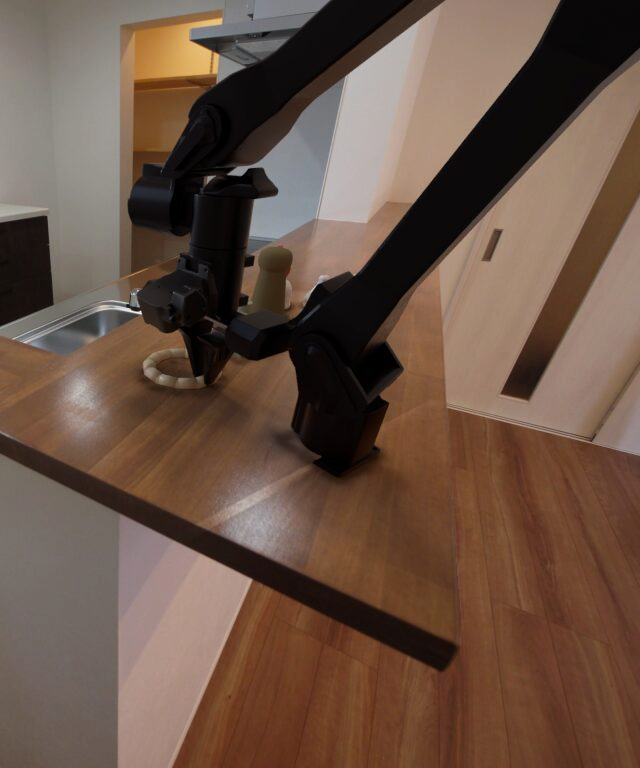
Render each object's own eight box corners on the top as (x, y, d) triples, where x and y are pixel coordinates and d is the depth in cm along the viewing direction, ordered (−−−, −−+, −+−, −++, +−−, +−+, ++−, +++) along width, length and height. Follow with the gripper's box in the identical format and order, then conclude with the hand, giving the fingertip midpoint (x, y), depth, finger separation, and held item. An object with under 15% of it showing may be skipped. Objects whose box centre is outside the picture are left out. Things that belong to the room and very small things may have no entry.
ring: (236, 380, 52) (238, 369, 51) (174, 402, 48) (175, 390, 47) (187, 351, 59) (188, 341, 58) (128, 368, 55) (128, 357, 54)
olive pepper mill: (286, 323, 69) (300, 253, 63) (247, 320, 70) (258, 251, 64) (282, 310, 74) (294, 244, 68) (246, 307, 75) (256, 242, 69)
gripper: (101, 235, 45) (104, 365, 53) (222, 279, 32) (202, 445, 40) (183, 226, 51) (175, 346, 58) (318, 260, 37) (284, 410, 45)
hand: (203, 380), depth 50 cm, fingers closed on ring, 1 cm apart
